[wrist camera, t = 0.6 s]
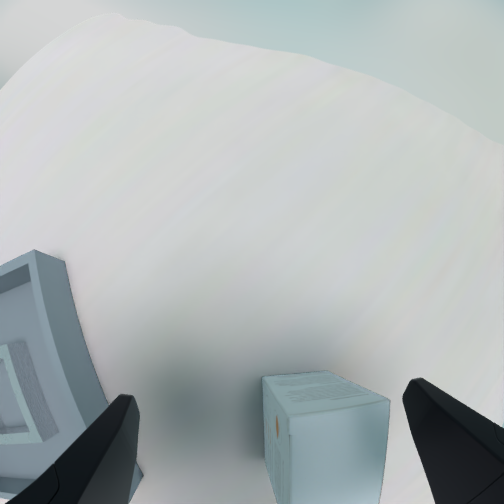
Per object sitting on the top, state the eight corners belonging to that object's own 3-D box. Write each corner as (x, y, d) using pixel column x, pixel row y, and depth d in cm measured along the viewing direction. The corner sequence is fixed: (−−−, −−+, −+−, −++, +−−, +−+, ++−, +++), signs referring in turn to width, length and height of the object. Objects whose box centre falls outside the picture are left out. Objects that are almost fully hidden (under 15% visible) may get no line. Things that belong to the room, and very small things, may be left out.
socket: (59, 431, 19) (43, 442, 16) (4, 436, 17) (-13, 444, 14) (26, 342, 20) (6, 343, 17) (-24, 357, 19) (-43, 359, 16)
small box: (327, 452, 21) (379, 513, 11) (262, 460, 21) (285, 535, 11) (328, 368, 23) (394, 397, 13) (260, 373, 22) (287, 416, 12)
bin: (143, 475, 19) (128, 503, 15) (3, 479, 16) (-19, 493, 12) (64, 261, 23) (34, 249, 18) (-54, 315, 20) (-82, 312, 15)
